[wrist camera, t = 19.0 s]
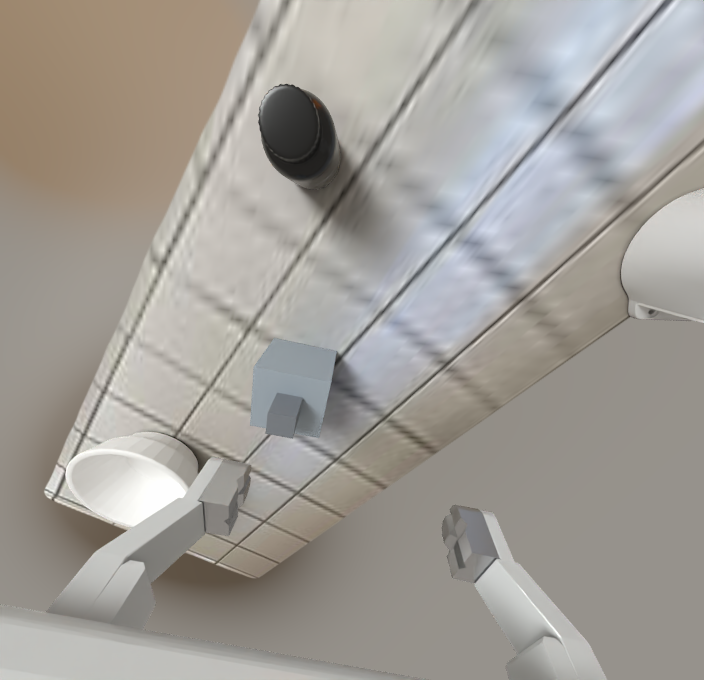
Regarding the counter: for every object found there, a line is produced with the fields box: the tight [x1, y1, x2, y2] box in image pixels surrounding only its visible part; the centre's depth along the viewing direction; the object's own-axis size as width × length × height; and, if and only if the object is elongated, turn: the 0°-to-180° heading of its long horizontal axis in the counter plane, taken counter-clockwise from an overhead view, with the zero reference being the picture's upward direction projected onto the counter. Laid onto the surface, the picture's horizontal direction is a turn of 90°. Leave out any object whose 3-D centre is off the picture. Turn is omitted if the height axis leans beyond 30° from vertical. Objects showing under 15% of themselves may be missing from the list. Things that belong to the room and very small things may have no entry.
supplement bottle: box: [258, 84, 340, 190], centre depth 25 cm, size 7×7×12 cm
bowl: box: [65, 432, 198, 528], centre depth 50 cm, size 22×22×8 cm
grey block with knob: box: [250, 338, 337, 438], centre depth 38 cm, size 10×10×13 cm
